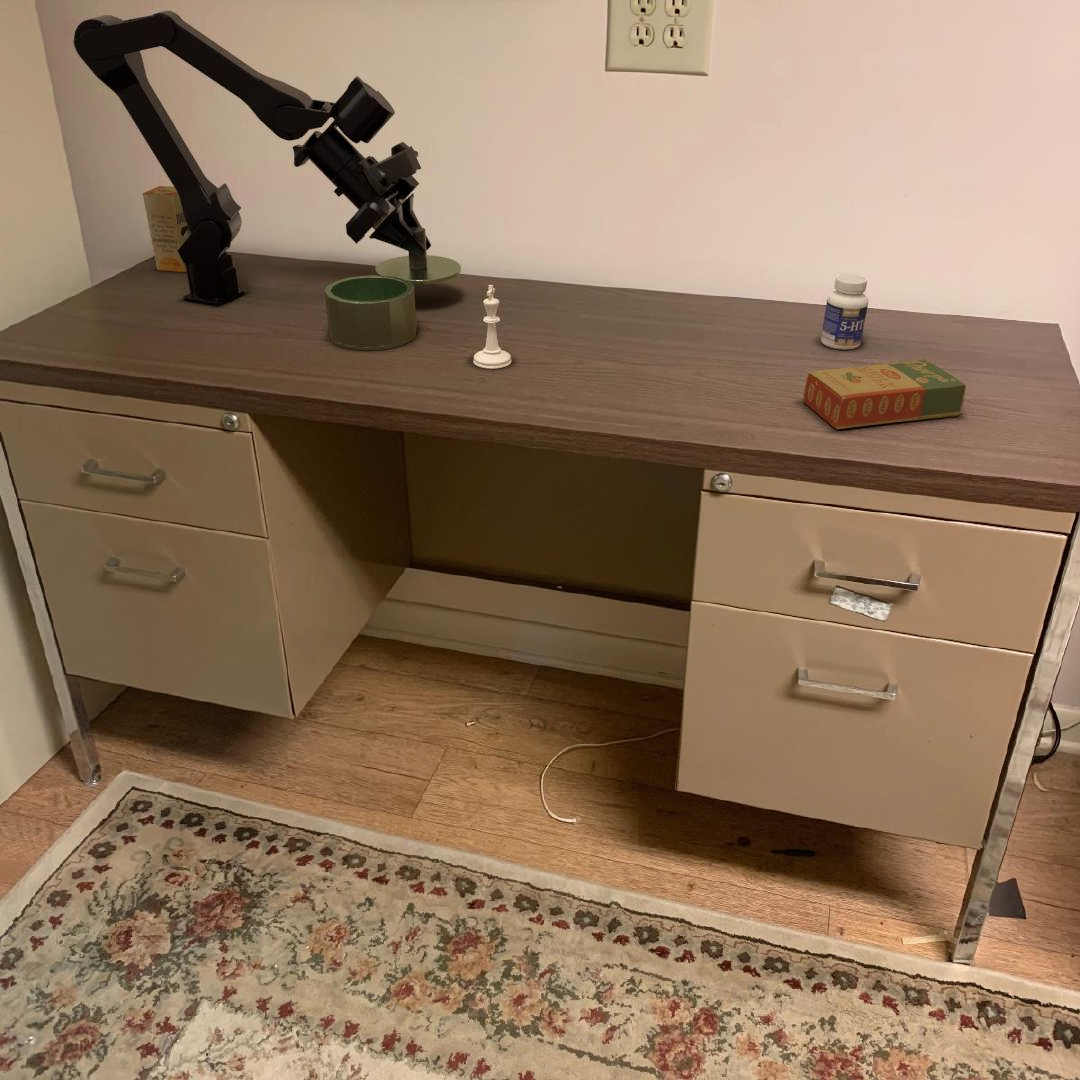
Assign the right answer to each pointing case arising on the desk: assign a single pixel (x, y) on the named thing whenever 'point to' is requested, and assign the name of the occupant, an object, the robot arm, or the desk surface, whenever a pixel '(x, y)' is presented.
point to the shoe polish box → (166, 227)
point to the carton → (883, 394)
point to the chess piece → (491, 338)
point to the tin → (371, 312)
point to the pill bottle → (845, 313)
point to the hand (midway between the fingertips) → (426, 250)
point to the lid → (420, 265)
